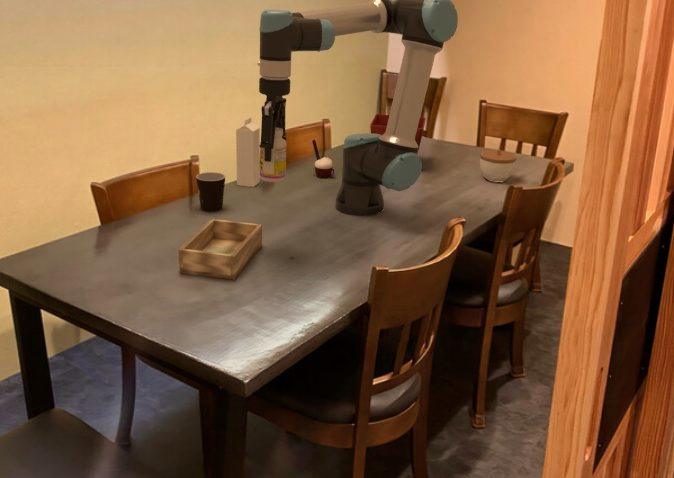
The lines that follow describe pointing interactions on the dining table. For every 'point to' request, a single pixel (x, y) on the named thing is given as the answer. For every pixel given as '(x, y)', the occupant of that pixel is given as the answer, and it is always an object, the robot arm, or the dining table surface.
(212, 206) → the coffee mug
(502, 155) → the lidded bowl
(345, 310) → the dining table surface
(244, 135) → the milk
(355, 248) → the dining table surface
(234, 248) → the walled box
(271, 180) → the supplement bottle
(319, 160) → the cocoa
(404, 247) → the dining table surface
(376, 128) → the plant pot
